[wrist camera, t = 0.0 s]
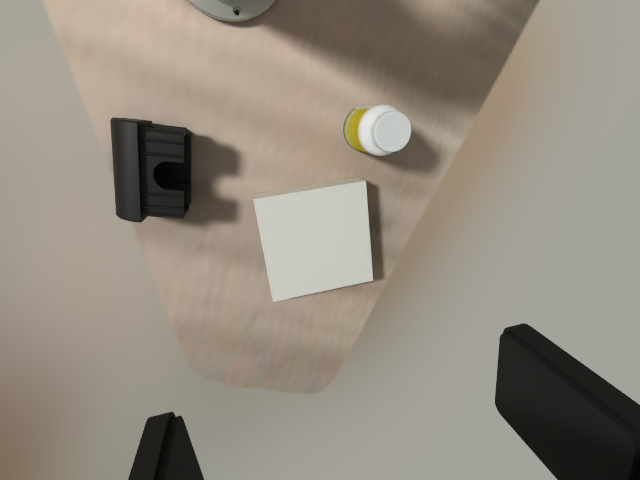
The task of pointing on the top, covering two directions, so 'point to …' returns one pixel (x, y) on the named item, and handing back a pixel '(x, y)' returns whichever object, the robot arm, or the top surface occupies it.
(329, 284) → the base plate
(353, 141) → the supplement bottle
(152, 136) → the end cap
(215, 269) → the top surface
